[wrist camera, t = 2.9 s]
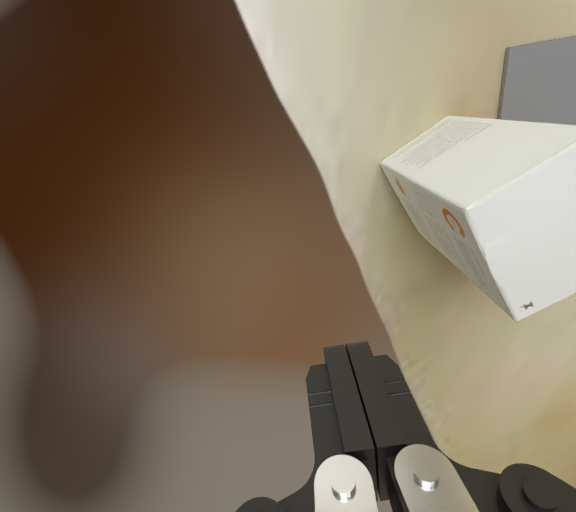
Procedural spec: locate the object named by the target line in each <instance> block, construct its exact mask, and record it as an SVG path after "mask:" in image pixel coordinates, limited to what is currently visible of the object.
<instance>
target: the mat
mask: <svg viewBox="0 0 576 512" xmlns="http://www.w3.org/2000/svg"><path fill="white" fill-rule="evenodd" d="M497 119H501V120H514V121H527V122H540V123H554V124H566V125H576V36H570V37H565V38H559V39H554V40H548V41H543V42H537V43H531V44H526V45H520V46H515V47H509V48H506V55H505V63H504V70H503V78H502V86H501V94H500V102H499V110H498V118H497Z"/></svg>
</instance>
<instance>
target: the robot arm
mask: <svg viewBox="0 0 576 512" xmlns="http://www.w3.org/2000/svg"><path fill="white" fill-rule="evenodd" d="M323 349H324V357H325V364H320V365H313V366H311V367H310V369H309V372H308V375H307V378H306V383H307V392H308V401H309V410H310V418H311V427H312V436H313V445H314V453H315V464H314V469H313V472H312V474H311V476H310V478H309V480H308V482H307V483H306V484H305V485H304V486H303V487H302V488H301V489H300V490H298V491H297V492H295V493H293V494H292V495H290V496H288V497H286V498H284V499H283V500H281V501H279V502H276V501H274V500H272V499H270V498H267V497H257V498H253V499H251V500H249V501H247V502H245V503H244V504H243V505H241V507H239V509H238V510H237V511H236V512H378V505H377V501H378V497H377V491H378V494H379V498H380V501H383V500H390V504H391V507H392V511H393V512H576V489H575V488H574V487H572V486H570V485H569V484H567V483H565V482H564V481H562V480H560V479H559V478H557V477H555V476H554V475H552V474H550V473H549V472H547V471H545V470H543V469H541V468H538V467H536V466H533V465H529V464H513V465H510V466H508V467H506V468H505V469H504V470H503V472H502V473H501V474H498V473H493V472H488V471H483V470H478V469H473V468H469V467H465V466H463V465H460V464H458V463H456V462H455V461H453V460H451V459H450V458H448V457H447V456H446V455H445V454H444V453H443V452H442V451H441V450H440V449H439V448H438V447H437V445H436V444H435V443H434V441H433V439H432V437H431V435H430V433H429V430H428V428H427V426H426V424H425V422H424V420H423V418H422V416H421V413H420V411H419V409H418V407H417V405H416V403H415V401H414V398H413V396H412V394H411V393H410V390H409V388H408V386H407V384H406V382H405V380H404V377H403V375H402V373H401V371H400V369H399V367H398V365H397V364H396V363H395V362H394V361H393V360H392V359H390V358H389V357H388V356H387V355H380V356H373V354H372V351H371V349H370V346H369V344H368V342H367V341H364V342H358V343H350V344H346V348H345V345H339V346H332V347H325V348H323Z"/></svg>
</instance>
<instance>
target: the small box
mask: <svg viewBox="0 0 576 512" xmlns="http://www.w3.org/2000/svg"><path fill="white" fill-rule="evenodd" d="M380 166H381V168H382V169H383V171H384V173H385V175H386V177H387V179H388V180H389V182H390V184H391V186H392V187H393V189H394V191H395V193H396V195H397V196H398V198H399V200H400V202H401V203H402V205H403V207H404V208H405V210H406V212H407V214H408V215H409V217H410V219H411V221H412V222H413V224H414V226H415V227H416V229H417V231H418V232H419V234H420V235H421V236H423V237H424V238H425V239H426V240H427V241H428V242H429V243H430V244H431V245H433V246H434V247H435V248H436V249H437V250H438V251H440V252H441V253H442V254H443V255H444V256H445V257H446V258H447V259H448V260H449V261H450V262H452V263H453V264H454V265H455V266H456V267H457V268H458V269H459V270H460V271H461V272H462V273H463V274H464V275H465V276H467V277H468V278H469V279H470V280H471V281H472V282H473V283H474V284H475V285H476V286H477V287H479V288H480V289H481V290H482V291H483V292H484V293H485V294H486V295H487V296H488V297H489V298H491V299H492V300H493V301H494V302H495V303H496V304H497V305H498V306H499V307H500V308H502V309H503V310H504V311H505V312H506V313H507V314H508V315H509V316H510V317H512V318H513V319H514V320H515V321H519V320H521V319H523V318H526V317H528V316H530V315H532V314H534V313H536V312H539V311H541V310H543V309H545V308H547V307H549V306H551V305H553V304H555V303H557V302H559V301H561V300H563V299H565V298H567V297H569V296H571V295H573V294H575V293H576V125H566V124H554V123H540V122H527V121H514V120H501V119H489V118H476V117H462V116H447V117H445V118H444V119H442V120H441V121H439V122H438V123H436V124H435V125H434V126H432V127H431V128H429V129H428V130H426V131H425V132H423V133H422V134H420V135H419V136H418V137H416V138H415V139H413V140H412V141H410V142H409V143H407V144H406V145H404V146H403V147H401V148H400V149H399V150H397V151H396V152H394V153H393V154H391V155H390V156H388V157H387V158H385V159H384V160H382V161H381V162H380Z"/></svg>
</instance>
